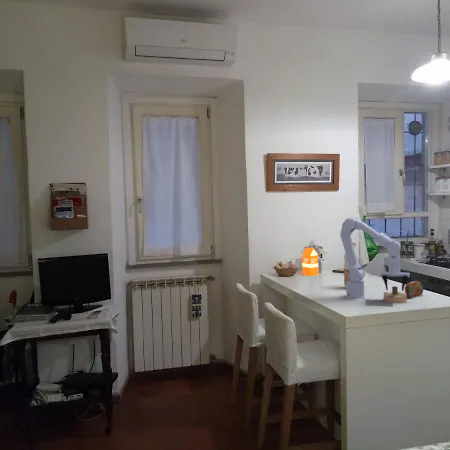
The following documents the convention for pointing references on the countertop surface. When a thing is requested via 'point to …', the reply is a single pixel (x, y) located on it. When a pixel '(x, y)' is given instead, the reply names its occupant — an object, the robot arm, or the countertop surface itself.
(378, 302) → the mat
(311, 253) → the orange juice
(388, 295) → the lid
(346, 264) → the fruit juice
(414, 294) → the tin
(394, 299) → the bowl
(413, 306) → the countertop surface
